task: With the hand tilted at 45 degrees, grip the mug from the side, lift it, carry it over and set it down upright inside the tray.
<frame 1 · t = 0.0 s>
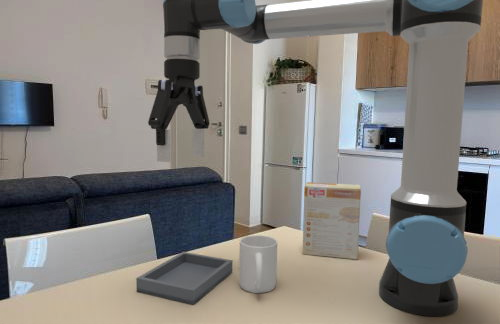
hand: (182, 158, 83), 28 cm above the table, tool pointing down, fingers open, 13 cm apart
coffeecake box: (330, 253, 106), on the table
mug: (257, 290, 82), on the table
tray: (187, 281, 86), on the table
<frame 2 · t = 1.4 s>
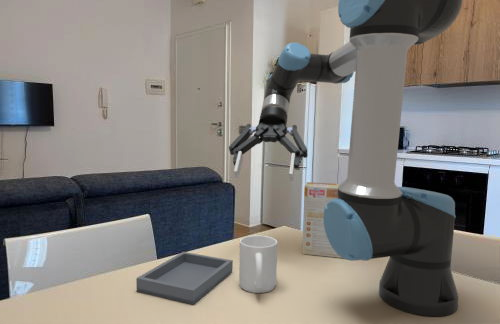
hand: (263, 176, 92), 23 cm above the table, tool tilted 45°, fingers open, 13 cm apart
nothing on the table moved.
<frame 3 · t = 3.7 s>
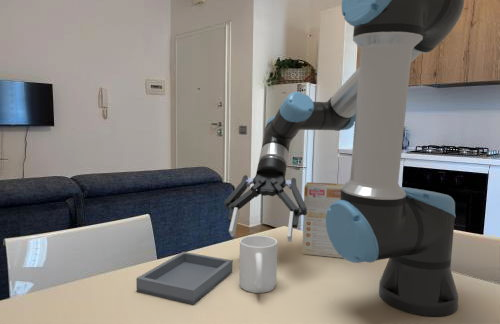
hand: (259, 236, 87), 10 cm above the table, tool tilted 45°, fingers open, 13 cm apart
nothing on the table moved.
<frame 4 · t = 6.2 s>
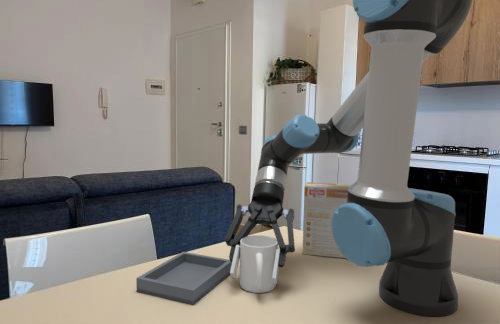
hand: (253, 278, 79), 4 cm above the table, tool tilted 45°, fingers closed on mug, 8 cm apart
mug: (258, 290, 82), on the table, touching gripper
everything else where it was.
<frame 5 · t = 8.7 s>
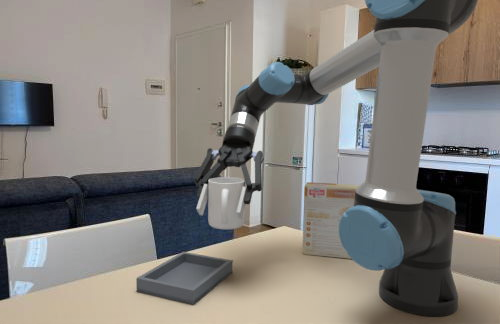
hand: (219, 213, 80), 17 cm above the table, tool tilted 45°, fingers closed on mug, 8 cm apart
mug: (225, 227, 84), point 13 cm above the table, touching gripper
everything else where it was.
when the fingers open (6 cm above the table, at t = 11.7 s): mug drops 1 cm, resting on tray.
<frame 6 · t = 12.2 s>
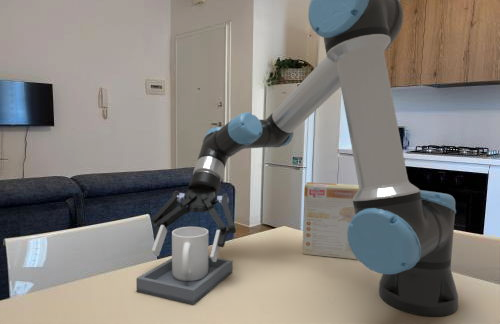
hand: (183, 256, 83), 7 cm above the table, tool tilted 45°, fingers open, 13 cm apart
mug: (188, 278, 86), point 1 cm above the table, touching tray
everything else where it was.
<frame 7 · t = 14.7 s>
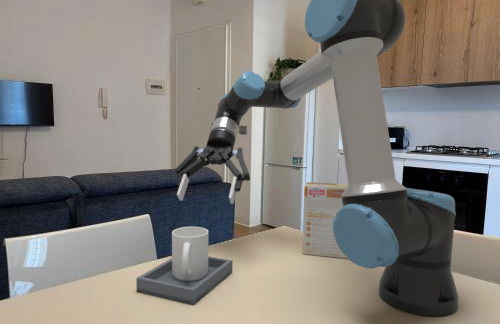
hand: (204, 199, 94), 17 cm above the table, tool tilted 45°, fingers open, 13 cm apart
nothing on the table moved.
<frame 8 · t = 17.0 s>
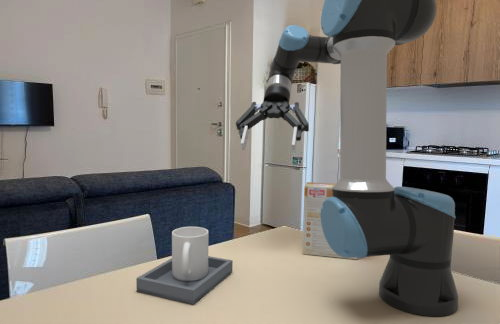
hand: (267, 147, 99), 30 cm above the table, tool tilted 45°, fingers open, 13 cm apart
nothing on the table moved.
at the end: mug inside the target area on the tray (0.3 cm from its centre), point 0.6 cm above the tray's base; mug tilted 0°; the gripper is holding nothing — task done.
